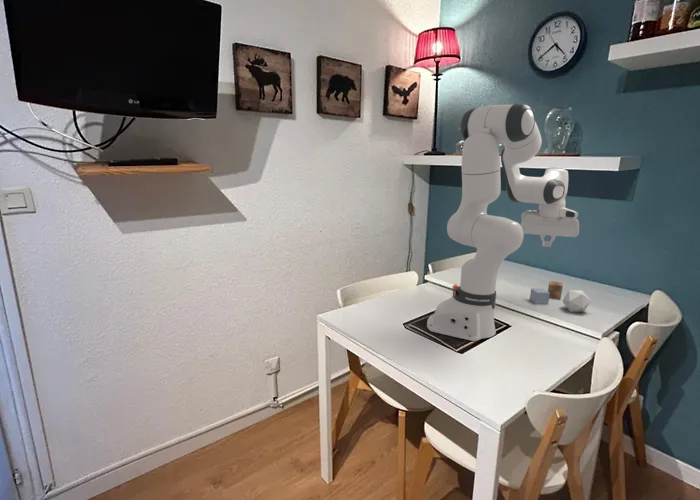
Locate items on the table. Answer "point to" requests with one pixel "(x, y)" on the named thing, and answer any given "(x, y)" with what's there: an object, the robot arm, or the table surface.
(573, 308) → the die
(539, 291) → the slate block
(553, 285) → the walnut block
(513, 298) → the table surface
